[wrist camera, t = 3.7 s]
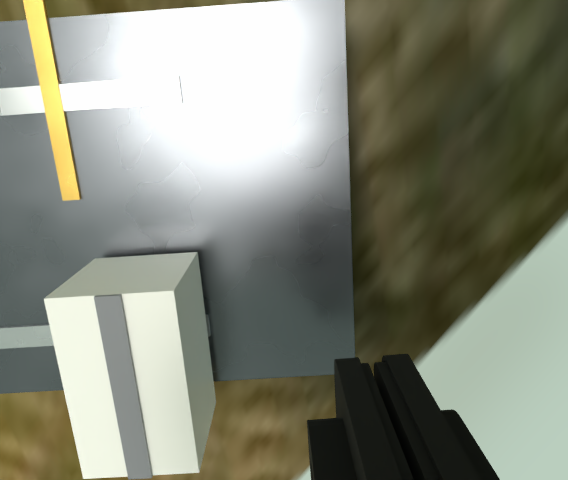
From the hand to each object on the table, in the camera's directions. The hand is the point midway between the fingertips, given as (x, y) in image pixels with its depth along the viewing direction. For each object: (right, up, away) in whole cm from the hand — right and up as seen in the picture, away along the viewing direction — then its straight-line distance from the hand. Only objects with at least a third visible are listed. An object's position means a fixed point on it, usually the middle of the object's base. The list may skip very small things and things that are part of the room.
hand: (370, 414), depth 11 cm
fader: (-6, +1, +4) cm, 7 cm away
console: (-9, +5, +6) cm, 12 cm away
